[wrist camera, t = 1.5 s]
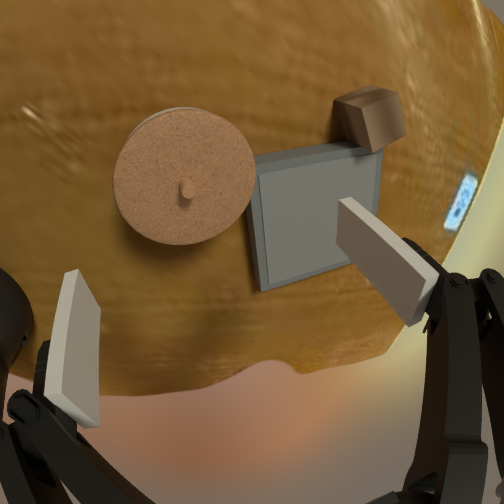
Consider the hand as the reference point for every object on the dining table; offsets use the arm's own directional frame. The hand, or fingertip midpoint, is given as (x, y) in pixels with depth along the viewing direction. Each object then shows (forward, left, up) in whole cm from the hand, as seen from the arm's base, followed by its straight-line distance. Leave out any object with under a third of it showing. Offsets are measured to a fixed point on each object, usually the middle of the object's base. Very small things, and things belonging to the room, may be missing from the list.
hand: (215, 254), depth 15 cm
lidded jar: (0, 0, -17) cm, 17 cm away
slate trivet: (+14, -10, -17) cm, 24 cm away
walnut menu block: (+20, +1, -17) cm, 26 cm away
